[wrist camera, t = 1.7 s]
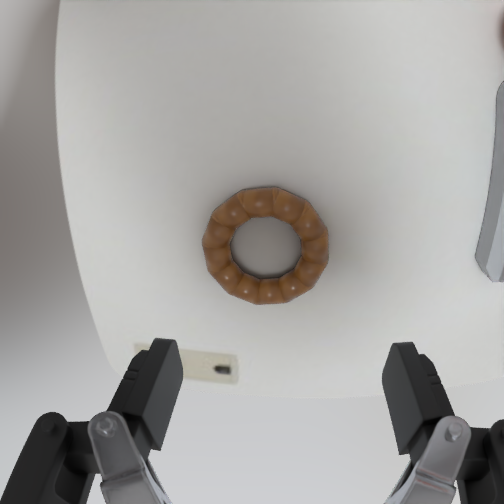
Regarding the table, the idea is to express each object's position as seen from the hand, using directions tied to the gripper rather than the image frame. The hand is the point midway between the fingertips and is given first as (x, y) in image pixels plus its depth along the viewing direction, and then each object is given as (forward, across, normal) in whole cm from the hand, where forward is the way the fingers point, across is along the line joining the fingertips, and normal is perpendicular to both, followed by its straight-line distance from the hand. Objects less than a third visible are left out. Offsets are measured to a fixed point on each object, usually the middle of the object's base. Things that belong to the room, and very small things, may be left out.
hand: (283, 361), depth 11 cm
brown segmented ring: (+13, +1, +2) cm, 13 cm away
